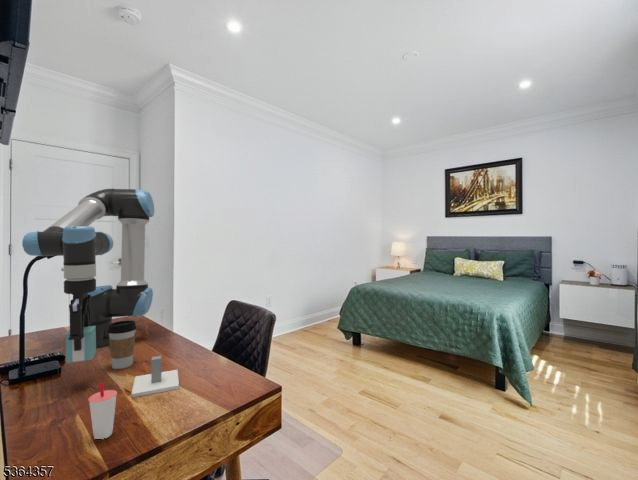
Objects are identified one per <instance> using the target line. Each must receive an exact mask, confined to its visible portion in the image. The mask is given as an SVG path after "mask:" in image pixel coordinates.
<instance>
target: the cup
mask: <svg viewBox="0 0 638 480" xmlns="http://www.w3.org/2000/svg"><path fill="white" fill-rule="evenodd" d="M117 395H118V391H117V390H115V389H114V390H113V389H107V390H105V389H104V382H101V383H100V384H99V391H98V392H96V393H94V394H92V395H91V396H89V397H88V399H87V400H88V403H89V411H90V418H91V419H90V420H91V427H92V433H93V439H94V440H95V439H102V440H105V439H107V438H109V437H110V436H112V435H113V429H114V423H115V413H116V412H115V411H116V405H117V404H116V402H117ZM104 438H105V439H104Z"/></svg>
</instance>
